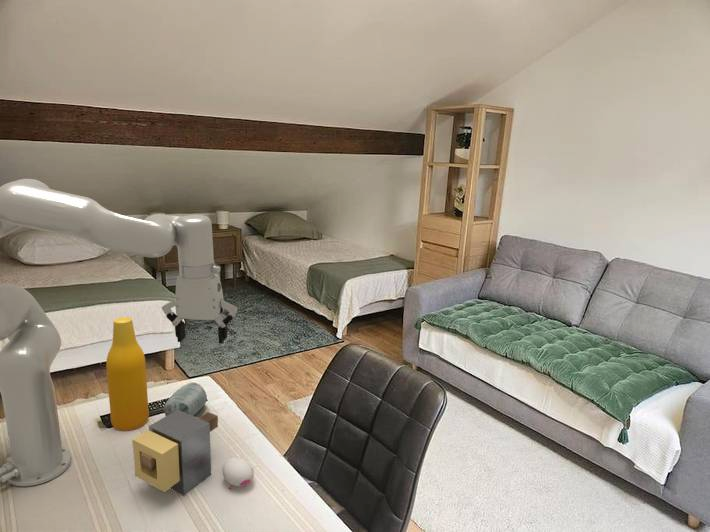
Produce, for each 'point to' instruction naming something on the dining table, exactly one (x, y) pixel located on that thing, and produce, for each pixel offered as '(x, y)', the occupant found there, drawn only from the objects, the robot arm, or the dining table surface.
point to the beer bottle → (126, 378)
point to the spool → (186, 399)
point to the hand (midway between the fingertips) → (202, 340)
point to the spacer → (157, 460)
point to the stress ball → (238, 472)
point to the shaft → (151, 462)
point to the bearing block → (187, 447)
